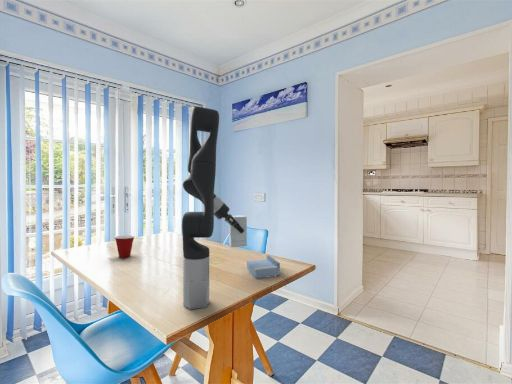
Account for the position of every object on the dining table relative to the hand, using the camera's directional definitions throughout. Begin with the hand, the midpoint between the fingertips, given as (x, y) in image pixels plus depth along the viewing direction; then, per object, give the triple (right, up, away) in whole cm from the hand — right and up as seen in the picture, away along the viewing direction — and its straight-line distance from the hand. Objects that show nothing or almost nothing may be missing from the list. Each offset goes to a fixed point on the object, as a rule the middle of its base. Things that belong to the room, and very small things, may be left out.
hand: (241, 230), depth 131 cm
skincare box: (-2, -7, 0) cm, 8 cm away
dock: (+11, -20, -2) cm, 23 cm away
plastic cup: (-69, -18, +23) cm, 75 cm away
